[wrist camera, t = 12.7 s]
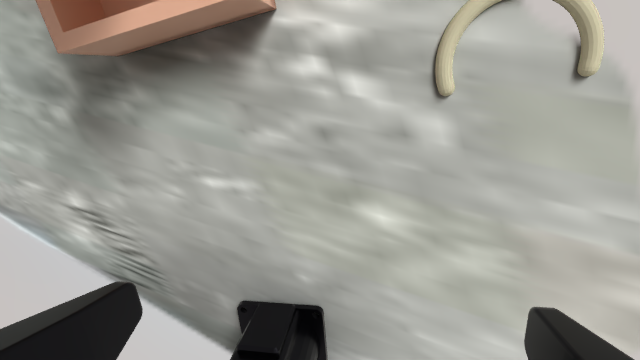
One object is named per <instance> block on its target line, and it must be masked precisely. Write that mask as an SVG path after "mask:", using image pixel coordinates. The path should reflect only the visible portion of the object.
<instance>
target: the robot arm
mask: <svg viewBox="0 0 640 360" xmlns="http://www.w3.org/2000/svg"><path fill="white" fill-rule="evenodd" d="M243 307H244V308H246V309H244V308H243ZM237 310H238V315H239V321H240V326H241V331H242V336H241V338H240V340H239V342H238V344H237V346H236V349H235V351H234V353H233V355H232V357H231V359H230V360H328V358H327V346H326V335H325V323H324V312H323V309H322V308H321V307H319V306H312V305H298V304H283V303H268V302H254V301H242V302H241V303H240V304H239V306H238V308H237ZM315 312H316V313H318V314H315ZM141 316H142V306H141V302H140V299H139V296H138V292H137V289H136V286H135V285H134V284H133V283H131V282H114V283H111V284H109V285H107V286H104V287H102V288H99V289H97V290H94V291H92V292H89V293H87V294H85V295H82V296H80V297H77V298H75V299H73V300H70V301H68V302H65V303H63V304H60V305H58V306H56V307H53V308H51V309H48V310H46V311H43V312H41V313H38V314H36V315H34V316H31V317H29V318H26V319H24V320H21V321H19V322H16V323H14V324H12V325H9V326H7V327H4V328H2V329H0V360H116V359H117V357H118V356H119V354H120V352H121V351H122V349H123V347H124V346H125V344H126V342H127V341H128V339H129V337H130V335H131V334H132V332H133V331H134V329H135V327H136V326H137V324H138V322H139V321H140V319H141ZM524 344H525V350H526V354H527V357H528V360H634V359H633V358H631V357H630V356H628V355H626V354H625V353H623V352H622V351H620V350H619V349H617V348H616V347H614V346H613V345H611V344H610V343H608V342H607V341H605V340H603V339H602V338H600V337H599V336H597V335H596V334H594V333H593V332H591V331H590V330H588V329H587V328H585V327H584V326H582V325H580V324H579V323H577V322H576V321H574V320H573V319H571V318H570V317H568V316H567V315H565V314H564V313H562V312H561V311H559V310H557V309H555V308H546V307H533V308H531V309H530V311H529V314H528V320H527V327H526V333H525V340H524Z"/></svg>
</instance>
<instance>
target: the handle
mask: <svg viewBox="0 0 640 360" xmlns="http://www.w3.org/2000/svg"><path fill="white" fill-rule="evenodd" d="M500 1H502V0H469V1H468V2H467V3H466V4H465V5H464V6H463V7H462V8H461V9H460V10H459V11H458V12H457V14H456V15H455V16H454V18H453V19H452V20H451V22H450V23H449V25H448V27H447V29H446V30H445V32H444V34H443V37H442V39H441V42H440V45H439V48H438V52H437V56H436V65H435V76H436V84H437V87H438V91H439V93H440V94H441V95H442V96H449V95H451V94H452V93H453V92H454V89H455V85H454V81H453V74H452V64H453V57H454V53H455V49H456V46H457V44H458V42H459V40H460V38H461V36H462V34H463V32H464V31H465V30H466V28H467V27H468V25H469V24H470V23H471V22H472V21H473V20H474V19H475V18H476V17H477V16H478V15H479V14H480V13H482V12H483V11H484V10H485V9H487V8H489V7H490V6H492V5H493V4H495V3H498V2H500ZM553 1H555V2H557V3H559V4H560V5H561V6H563V7H564V8H565V9H566V10H567V11H568V12H569V13H570V15H571V16H572V17H573V19H574V20H575V22H576V24H577V27H578V30H579V33H580V38H581V54H580V60H579V64H578V68H577V71H578V73H579V74H580V75H581V76H585V77H586V76H591V75H594V74H595V73H596V72H597V71H598V69H599V67H600V64H601V60H602V55H603V50H604V30H603V25H602V21H601V18H600V15H599V13H598V11H597V9H596V7H595V5H594V3H593V2H592V1H591V0H553Z"/></svg>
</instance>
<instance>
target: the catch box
mask: <svg viewBox="0 0 640 360" xmlns="http://www.w3.org/2000/svg"><path fill="white" fill-rule="evenodd" d="M36 2H37V5H38V7H39V9H40V12H41V14H42V17H43V19H44V21H45V24H46V26H47V28H48V31H49V33H50V35H51V38H52V40H53V43H54V45H55V47H56V50H57V52H58V53H61V54H82V55H103V56H121V55H124V54H128V53H131V52H134V51H138V50H141V49H144V48H148V47H151V46H154V45H158V44H161V43H164V42H168V41H171V40H175V39H178V38H181V37H185V36H188V35H191V34H195V33H198V32H201V31H205V30H208V29H211V28H215V27H218V26H221V25H225V24H228V23H231V22H235V21H238V20H241V19H245V18H248V17H251V16H255V15H258V14H262V13H265V12H268V11H272V10H275V9H276V5H275V1H274V0H36Z"/></svg>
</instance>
